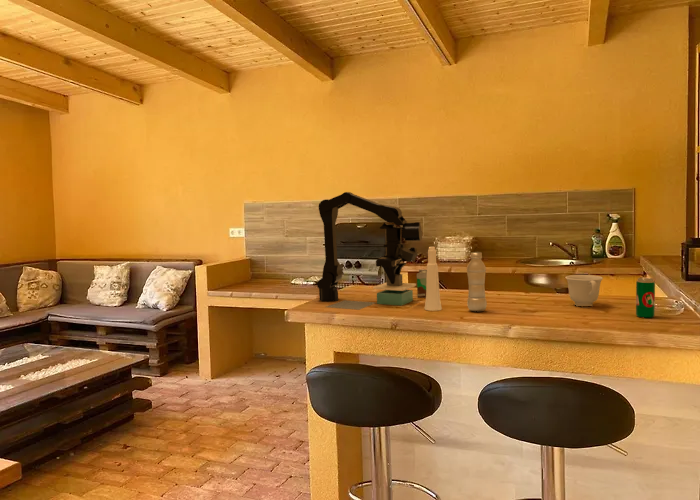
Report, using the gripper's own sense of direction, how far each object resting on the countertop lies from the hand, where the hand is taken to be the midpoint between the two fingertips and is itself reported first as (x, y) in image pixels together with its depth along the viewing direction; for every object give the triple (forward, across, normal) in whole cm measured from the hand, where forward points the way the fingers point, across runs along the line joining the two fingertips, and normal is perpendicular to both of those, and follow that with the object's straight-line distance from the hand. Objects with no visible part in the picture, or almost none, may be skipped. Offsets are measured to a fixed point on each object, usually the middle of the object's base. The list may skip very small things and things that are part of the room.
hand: (394, 283), depth 196 cm
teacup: (+8, +19, -63) cm, 66 cm away
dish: (+8, 0, 0) cm, 8 cm away
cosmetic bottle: (+8, -3, -16) cm, 18 cm away
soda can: (+8, +8, -81) cm, 82 cm away
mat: (+8, -10, +13) cm, 18 cm away
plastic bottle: (+8, -1, -31) cm, 32 cm away
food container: (+8, +21, -4) cm, 23 cm away
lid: (+2, 0, 0) cm, 2 cm away
